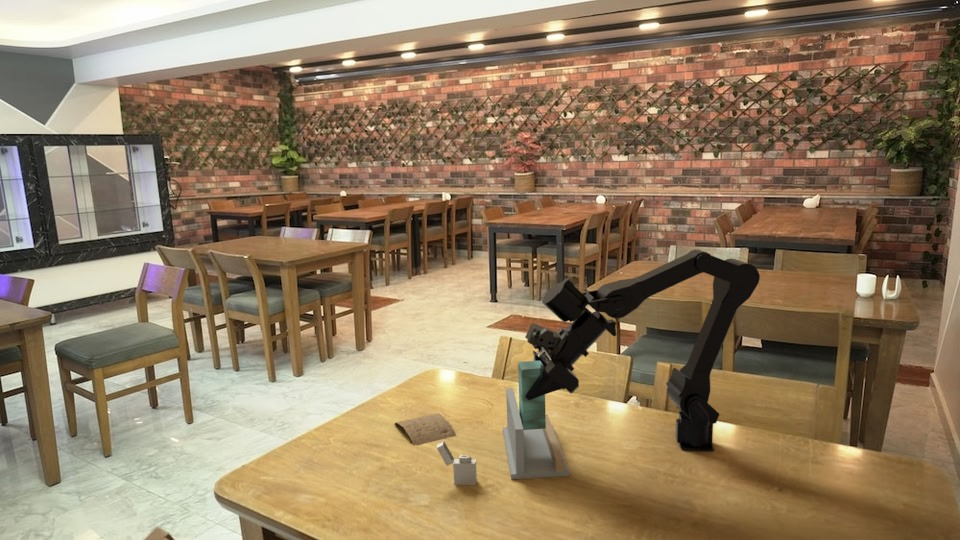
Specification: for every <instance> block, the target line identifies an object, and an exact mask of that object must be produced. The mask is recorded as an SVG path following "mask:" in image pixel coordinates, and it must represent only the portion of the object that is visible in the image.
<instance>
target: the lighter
mask: <svg viewBox="0 0 960 540" xmlns="http://www.w3.org/2000/svg"><path fill="white" fill-rule="evenodd" d="M436 445H437V446H436V450H437V451H438V453H439V455H440V457H441V458H442V461H443V462H444V464H445V466H447V467H448V466H450V465H452V466H453V485H455V486H466V485H467V486H476V485H477V483H478V482H477V480H478V479H477V478H478V476H477V474H478V473H477V459H475V458H472V456H470V455H468V454H460V455H458V456H459V457H458V458H454V455H453V454H452V453H451V450H450V449H449V447H448V445H447V444H446V442H445V441H444V440H442V441H441V442H439V443H437V444H436Z"/></svg>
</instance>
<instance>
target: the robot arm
mask: <svg viewBox="0 0 960 540" xmlns="http://www.w3.org/2000/svg"><path fill="white" fill-rule="evenodd" d="M703 273H704V274H707V275H710V276H712V277H713V282H712V295H713V296H712V297H713V298H712V301H711V304H710V306H709V309H708V311H707V314H706V317H705V319H704V321H703V323H702V325H701V326H702V327H701V328H700V331H699V334H698V336H697V338H696V341H695V343H694V346H693V348H692V350H691V353H690V355H689V358H688V361H687V362H686V364H685V365H683V366H682V367H681V368H680V369H679V368H676V367H673V369H672V370H671V374H670V377H669V379H668V381H667V382H666V383H665V385H666V387H667V390H666V391H667V392H666V393H667V396H668V397H669V400H670V401H672V403H674V405H675V406H676V409H678V410H679V411H678V418H676V419H675V433H674V434H675V440H676V442H677V443H678V444H679V448H680V449H681V450H683V451H685V450H686V451H687V450H688V451H706V452H707V451H710V452H714V451H715V447H714V445H713V435H714V432H713V431H714V424H717V422H718V419H719V417H720V413H719V412H718V411H717V410H716V409H715V408H714V407H713V406H712V405H710V404H709V399H710V395H711V373H712V370H713V368H714V367H715V366H714V365H715V363H716V361H717V358H718V356H719V354H720V351H721V349H722V346H723V345H724V341H725V339H726V337H727V335H728V333H729V330H730V328H731V326H732V323H733V320H734V317H735V315H736V314H737V310H738V309H739V308H740V307H741V306H742V305H743V304H744V303H745V302H747V301H748V300H749V299H750V298H751V296H752V295H753V294H754V291H755V290H756V288H757V287H758V285H759V284H760V280H761V276H760V273H759V270H758V269H757V267H756V266H755V265H753V264H750V263H748V262H745V261H742V260H739V259H736V258H727V259H722V258H720V257H717V256H714V255H712V254H710V253H709V252H707V251H705V250H701V249H691V250H690V251H688V252H687V253H686V254H684V255H682V256H680V257H677V258H676V259H674V260H671V261H669V262H666V263H665V264H662V265H660V266H658V267H655V268H654V269H651V270H649V271H647V272H645V273H643V274H641V275H638V276H635V277H633V278H626V279H620V280H615V281H611V282H608V283H605V284H603V285H601V286H600V287H599V288H597V289H595V290H590V291H584V292H582V291H580V290H579V289H578V288H577V287H576V286H575V285H574V283H573V282H572V281H571V280H570V279H568V278H567V277H565V278H564V279H563V280H562V281H560V282H558V283H557V284H555V285H553V286H551V287H550V288H549V289H548V290H547V292H546V293H545V294H544V296H543V297H542V301H541V304H542V305H544V306H545V307H546V308H547V309H548V310H550V311H551V313H552V314H554V316H556V317H557V318H558V319H559V320H560V321H562V322H563V323H566V322H570V325H569V326H568V327H566V328H564V327H561V328H559V329H558V330H557V331H554V330H551V329H549V328H547V327H545V326H542V325H539V324H536V323H534V322H531V323H530V325H529V328H528V330H527V332H526V335H525V339H526V341H527V343H528V344H530V345H532V347H533V348H534V349H535V350H537V351H535V350H533V351H532V355H533V361H539V360H540V361H541V363H542V364H543V365H541V374H540V376H539V377H538V379H537V380H536V382H535V383H534V384H533V386H532V387H531V388H530V390H529V391H528V393H527V394H526V396H525V397H526V398H527V399H528V400H532V399H534V398H537V397H539V396H542V395H545V396H546V395H547V394H550V393H552V392H556V391H559V390H565V391H566V390H567V391H568V393H570V394H573V393H575V391H576V390H577V389H578V388H579V387H580V385H579V384H580V382H579V379H578V377H577V375H576V374H575V373H574V372H573V371H574V370H575V367H574V366H573V365H574V364H575V363H576V362H577V361H578V360H579V359H580V358H581V357H582V356H584V358H586V357H587V356H589V354H590V353H589V352H588V350H589V349H590V348H591V346H593V344H595V342H596V341H597V340H598V339H599V338H600V337H601V336H602V335H603V334H604V333H605V332H606V331H607V332H608V333H609V334H610V335H611V336H613V337H616V336H617V329H616V328H617V327H616V325H617V322H616V321H615V320H614V319H618V320H619V319H622V318H625V317H627V316H628V315H630V314H631V313H632V312H634V311H635V310H637V309H638V308H639V307H640V306H641V305H642V304H643V303H644V301H646V300H647V299H649V298H650V297H652V296H654V295H657V294H659V293H661V292H663V291H665V290H667V289H669V288H672V287H674V286H676V285H678V284H680V283H682V282H684V281H687V280H688V279H691V278H693V277H695V276H697V275H700V274H703ZM587 306H590V308H591V309H593V310H594V311H593V312H592V311H591V310H590V309H588V308H587ZM602 313H603V314H604V313H605V314H606V315H607V316H608V317H610V318H611V319H608V318H606V317H605V316H604V315H603V314H602Z"/></svg>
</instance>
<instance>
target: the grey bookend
mask: <svg viewBox="0 0 960 540" xmlns="http://www.w3.org/2000/svg"><path fill="white" fill-rule="evenodd" d="M505 390H506V391H505V392H506V393H505V394H506V423H507V424H506V426H507V427H502V433H503V439H504V441H503V442H504V446H505V450H506V451H505V452H506V457H507V463H508V467H509V469H508V470H509V473H510V479H511V480H523V479H524V480H525V479H541V478H543V479H544V478H558V477H569V476H570V470H569V467H568V464H567V462H566V459H565V458H566V457H564V453H563V450H562V447H561V445H560V442H559V439H558V437H557V434H556V431H555V428H554V426H553V424H552V422H551V419H550V417H549V414H545V415H546V428H545V429H533V430H523V426H522V422H521V418H520V414H519V406H518V402H517V398H516V395H515V391H514V388H513V387H512V388H505Z"/></svg>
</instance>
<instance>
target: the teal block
mask: <svg viewBox="0 0 960 540" xmlns="http://www.w3.org/2000/svg"><path fill="white" fill-rule="evenodd" d="M541 365H543V364H542V363H541V361H540V360H539V361H534V360H527V361H526V360H525V361H518V362H517V370H518V375H517V376H518V401H519V402H518V405H519V406H518V410H519V414H520V418H521V422H522V426H523V430H533V429H545V428H546V415H547V414H546V394H545V395H542V396H539V397H537V398H534V399H532V400H528V399H527V398H526V397H525V396H526V394H527V393H528V391H529V390H530V388H531V387H532V386H533V384H534V383H535V382H536V380H537V379H538V377H539V376H540V374H541Z"/></svg>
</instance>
